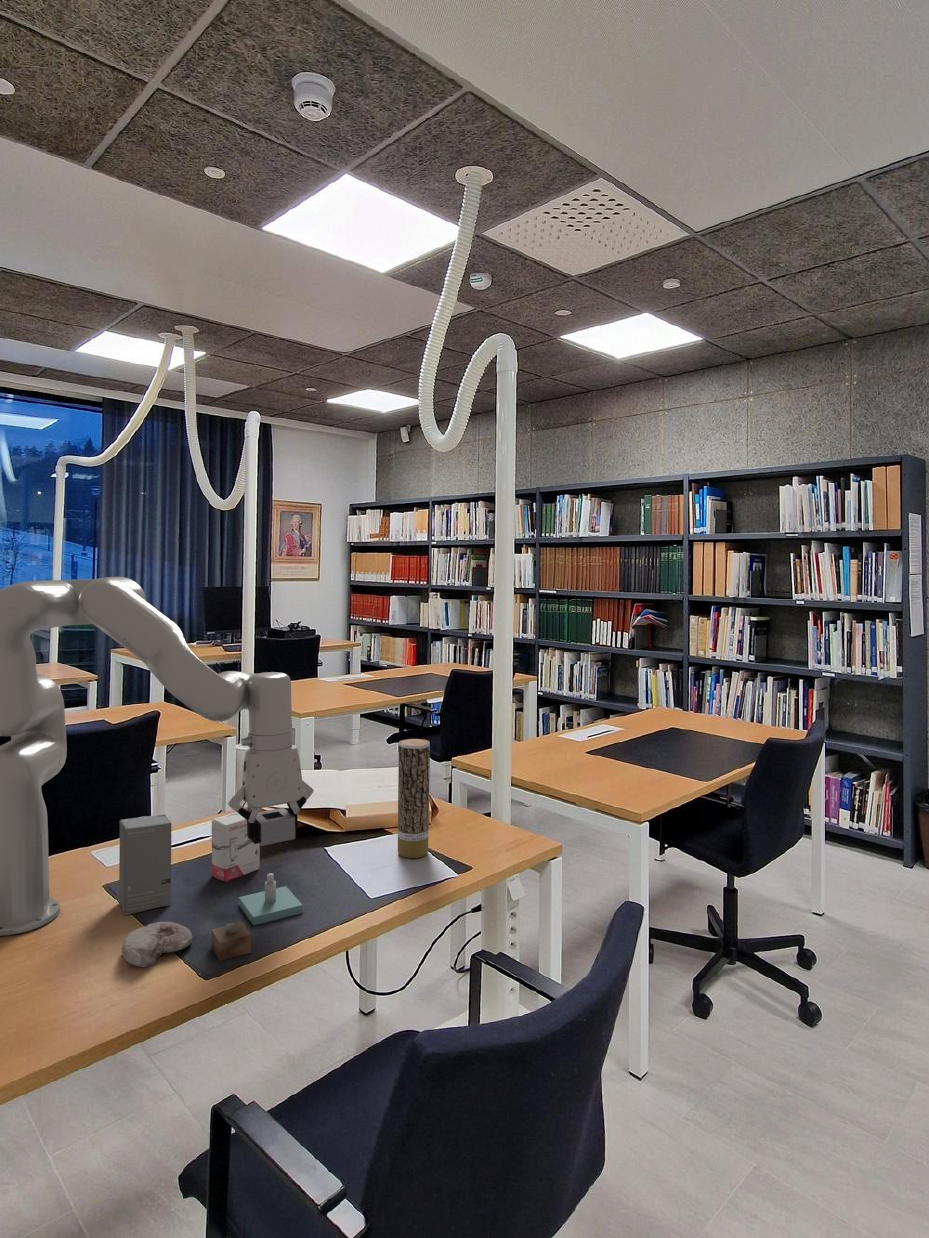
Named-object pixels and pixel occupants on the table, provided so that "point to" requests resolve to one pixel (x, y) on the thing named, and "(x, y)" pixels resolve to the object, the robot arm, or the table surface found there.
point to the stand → (231, 941)
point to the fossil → (154, 942)
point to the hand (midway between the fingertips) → (272, 836)
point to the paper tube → (413, 798)
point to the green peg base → (270, 903)
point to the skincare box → (145, 863)
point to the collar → (275, 826)
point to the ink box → (232, 848)
